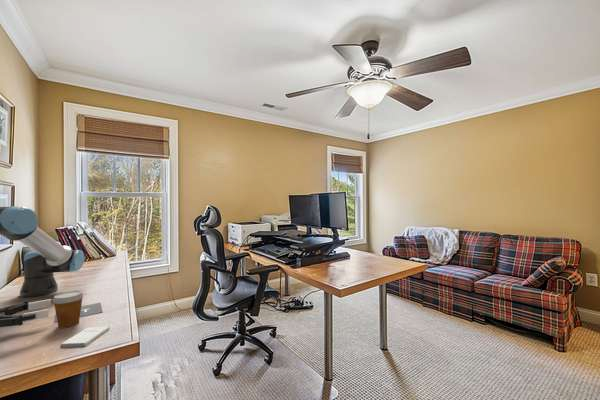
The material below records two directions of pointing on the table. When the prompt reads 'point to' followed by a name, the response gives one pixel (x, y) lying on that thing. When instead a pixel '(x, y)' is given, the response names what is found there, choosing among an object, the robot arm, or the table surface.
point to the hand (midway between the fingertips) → (50, 307)
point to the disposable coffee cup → (68, 308)
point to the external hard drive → (85, 337)
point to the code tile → (88, 310)
